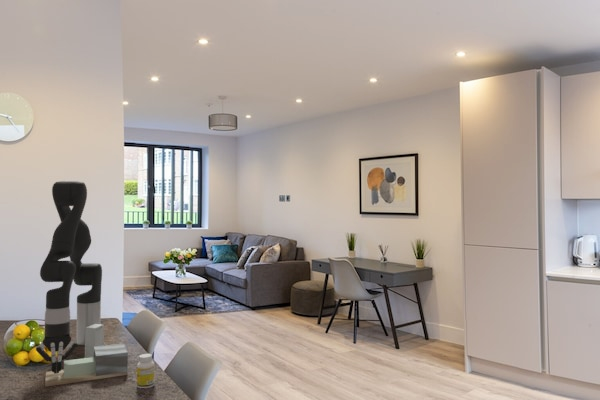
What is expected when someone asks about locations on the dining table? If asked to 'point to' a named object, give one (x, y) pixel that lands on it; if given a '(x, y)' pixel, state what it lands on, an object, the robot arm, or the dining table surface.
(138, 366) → the supplement bottle
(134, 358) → the dining table surface
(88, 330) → the skincare box
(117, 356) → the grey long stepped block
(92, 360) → the grey-green rectangular block
